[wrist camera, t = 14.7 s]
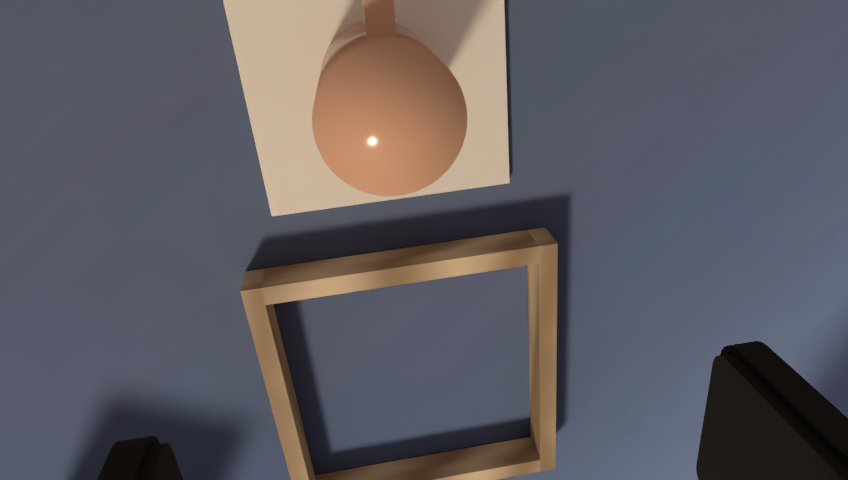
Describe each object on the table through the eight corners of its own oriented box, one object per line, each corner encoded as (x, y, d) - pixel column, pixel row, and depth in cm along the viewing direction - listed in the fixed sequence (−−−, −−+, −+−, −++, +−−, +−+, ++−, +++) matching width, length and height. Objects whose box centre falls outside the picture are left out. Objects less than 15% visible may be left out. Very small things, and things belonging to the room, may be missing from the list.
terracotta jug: (437, 131, 29) (469, 188, 21) (327, 141, 28) (322, 203, 21) (429, -27, 26) (463, -22, 18) (307, -19, 25) (293, -11, 18)
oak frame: (545, 227, 32) (557, 243, 31) (545, 445, 40) (555, 468, 38) (245, 271, 31) (240, 291, 29) (301, 489, 38) (300, 515, 36)
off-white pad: (499, -84, 25) (501, -84, 25) (507, 180, 31) (509, 182, 30) (212, -55, 24) (210, -55, 24) (272, 213, 30) (271, 216, 29)
